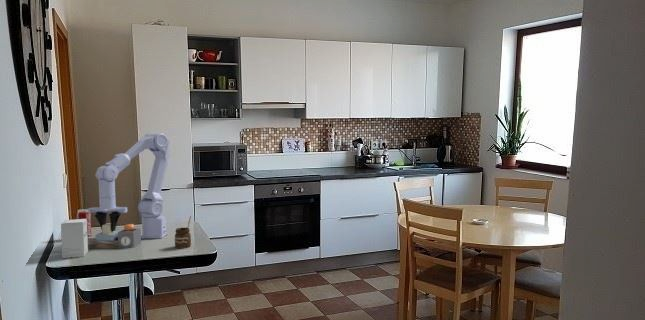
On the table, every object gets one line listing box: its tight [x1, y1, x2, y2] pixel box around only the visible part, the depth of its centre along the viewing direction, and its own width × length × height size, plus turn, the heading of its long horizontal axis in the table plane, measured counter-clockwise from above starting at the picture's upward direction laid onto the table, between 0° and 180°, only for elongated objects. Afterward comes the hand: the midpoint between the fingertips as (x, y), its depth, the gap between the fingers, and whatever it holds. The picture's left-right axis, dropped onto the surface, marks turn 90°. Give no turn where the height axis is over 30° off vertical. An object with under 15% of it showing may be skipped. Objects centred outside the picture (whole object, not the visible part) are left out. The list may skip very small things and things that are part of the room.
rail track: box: [87, 232, 118, 249], centre depth 182 cm, size 17×8×4 cm, turn 90°
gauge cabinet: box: [117, 227, 142, 249], centre depth 181 cm, size 6×8×6 cm
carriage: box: [95, 222, 120, 241], centre depth 181 cm, size 7×7×6 cm
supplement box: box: [60, 218, 89, 259], centre depth 167 cm, size 7×7×13 cm
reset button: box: [123, 223, 135, 231], centre depth 181 cm, size 4×4×2 cm
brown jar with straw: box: [174, 215, 192, 249], centre depth 178 cm, size 6×6×12 cm
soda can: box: [76, 208, 92, 238], centre depth 195 cm, size 5×5×12 cm
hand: (108, 231), depth 181 cm, fingers closed on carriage, 3 cm apart
